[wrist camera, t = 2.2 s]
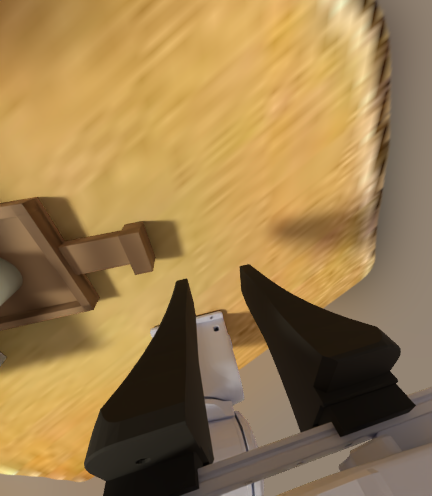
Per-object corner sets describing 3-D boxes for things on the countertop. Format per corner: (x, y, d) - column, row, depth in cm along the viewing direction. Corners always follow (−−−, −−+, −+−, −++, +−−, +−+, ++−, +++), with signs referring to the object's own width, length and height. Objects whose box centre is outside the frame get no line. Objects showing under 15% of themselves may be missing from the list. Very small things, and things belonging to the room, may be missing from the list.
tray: (128, 182, 15) (121, 188, 13) (164, 282, 21) (163, 298, 19) (-109, 220, 14) (-158, 234, 12) (-1, 318, 19) (-21, 339, 17)
